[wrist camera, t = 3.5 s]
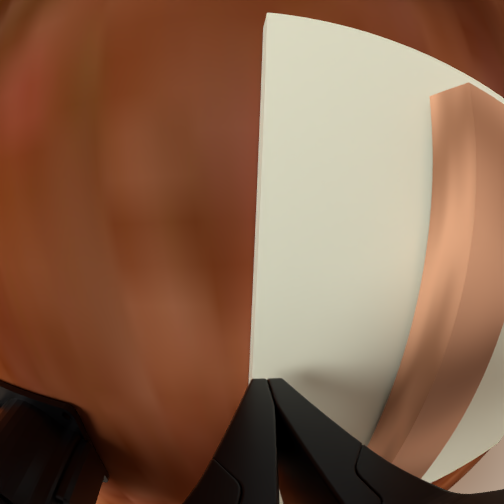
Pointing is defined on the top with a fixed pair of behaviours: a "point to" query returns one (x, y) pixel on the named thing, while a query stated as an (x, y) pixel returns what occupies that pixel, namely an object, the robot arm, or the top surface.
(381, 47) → the base board
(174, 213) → the top surface
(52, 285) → the top surface
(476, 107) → the link
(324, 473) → the robot arm
